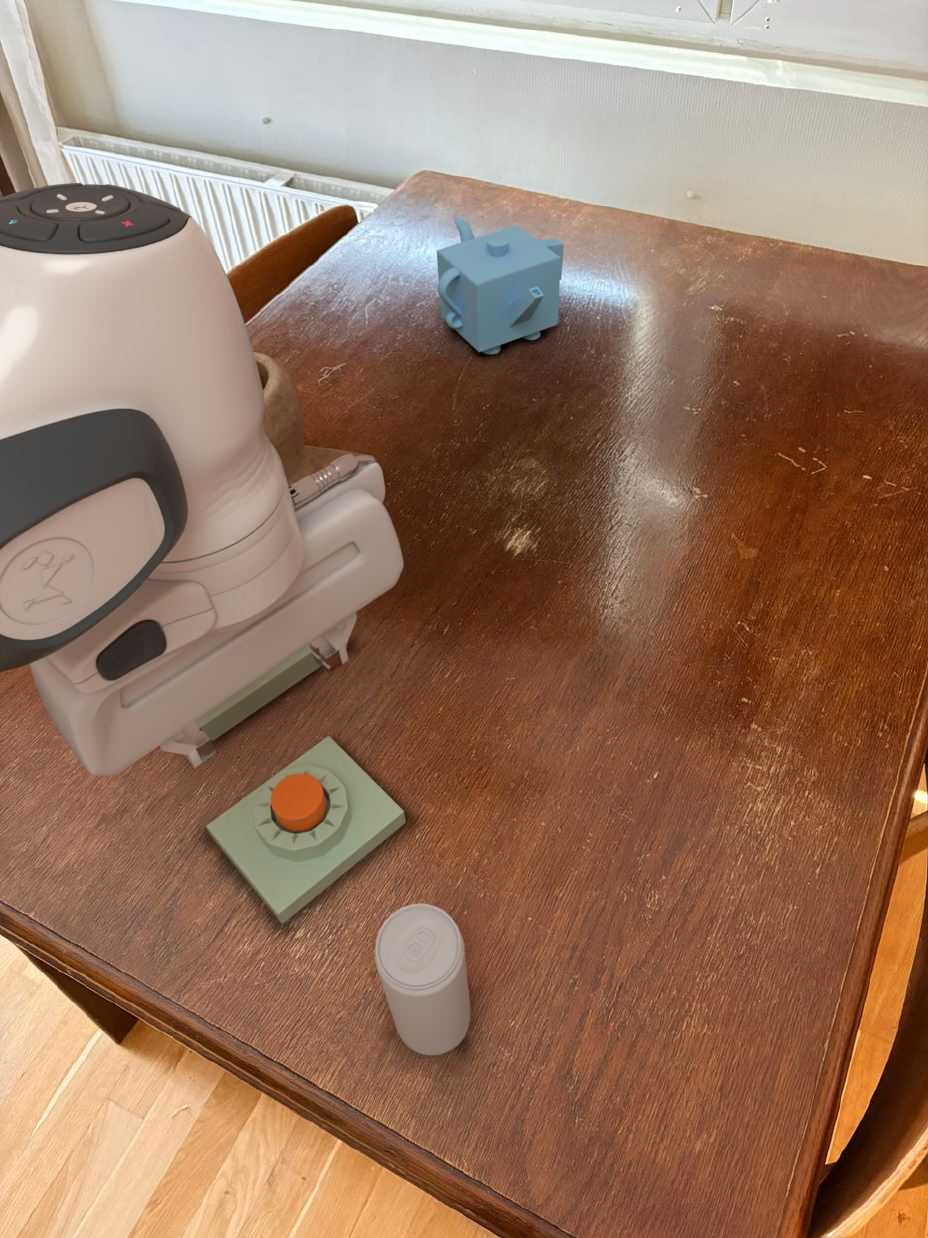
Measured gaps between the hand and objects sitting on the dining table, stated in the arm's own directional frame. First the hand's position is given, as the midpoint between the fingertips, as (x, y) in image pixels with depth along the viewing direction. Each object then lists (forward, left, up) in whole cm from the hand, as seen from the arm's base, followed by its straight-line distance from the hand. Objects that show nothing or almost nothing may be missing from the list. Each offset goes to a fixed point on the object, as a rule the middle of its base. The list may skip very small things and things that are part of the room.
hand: (267, 705), depth 53 cm
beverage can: (-2, -16, -16) cm, 22 cm away
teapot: (+56, +38, -16) cm, 70 cm away
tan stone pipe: (+20, +31, -16) cm, 40 cm away
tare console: (0, 0, -16) cm, 16 cm away
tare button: (0, 0, -13) cm, 13 cm away
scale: (+5, +19, -16) cm, 25 cm away
